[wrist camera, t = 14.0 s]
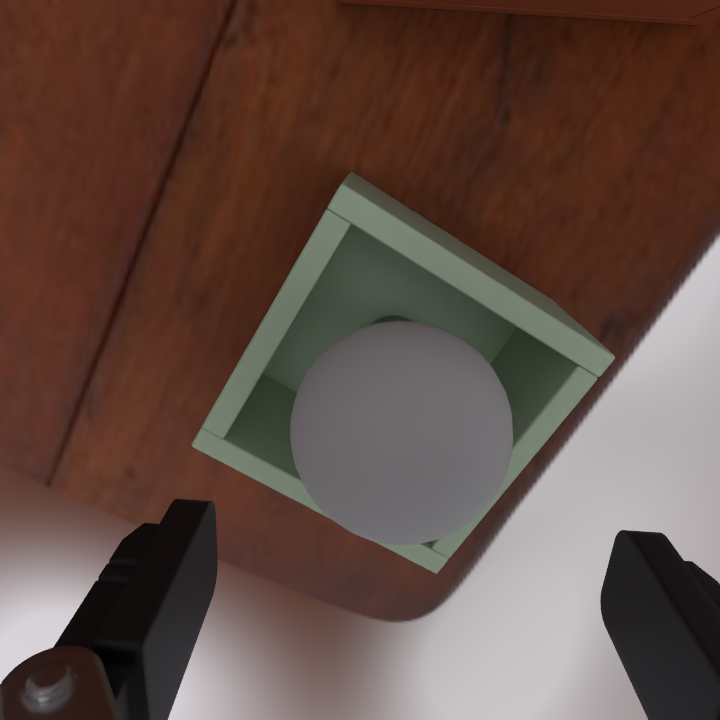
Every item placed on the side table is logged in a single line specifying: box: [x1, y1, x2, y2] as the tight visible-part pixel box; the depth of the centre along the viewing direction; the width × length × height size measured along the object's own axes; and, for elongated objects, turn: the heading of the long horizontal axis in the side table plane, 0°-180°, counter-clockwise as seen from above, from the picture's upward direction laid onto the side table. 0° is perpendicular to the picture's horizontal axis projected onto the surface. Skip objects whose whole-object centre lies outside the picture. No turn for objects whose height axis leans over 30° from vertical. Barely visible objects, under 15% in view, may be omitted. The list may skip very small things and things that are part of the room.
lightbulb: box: [290, 316, 513, 545], centre depth 18 cm, size 6×6×11 cm
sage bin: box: [192, 172, 615, 573], centre depth 21 cm, size 10×10×7 cm
